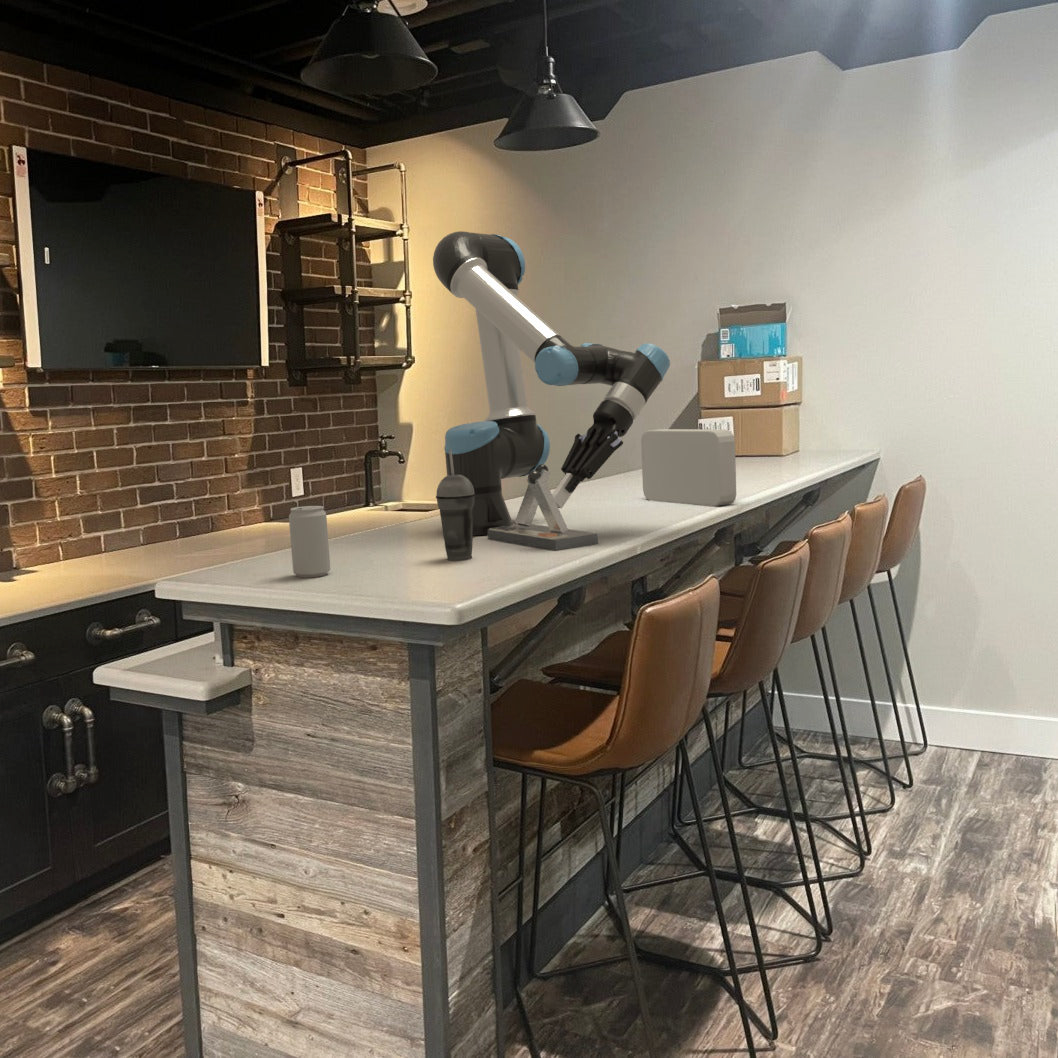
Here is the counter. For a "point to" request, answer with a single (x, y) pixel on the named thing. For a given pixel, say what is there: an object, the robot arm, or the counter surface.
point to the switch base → (542, 537)
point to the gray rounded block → (689, 466)
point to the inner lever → (530, 501)
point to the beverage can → (309, 541)
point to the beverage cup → (456, 514)
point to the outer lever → (546, 502)
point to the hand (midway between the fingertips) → (555, 503)
